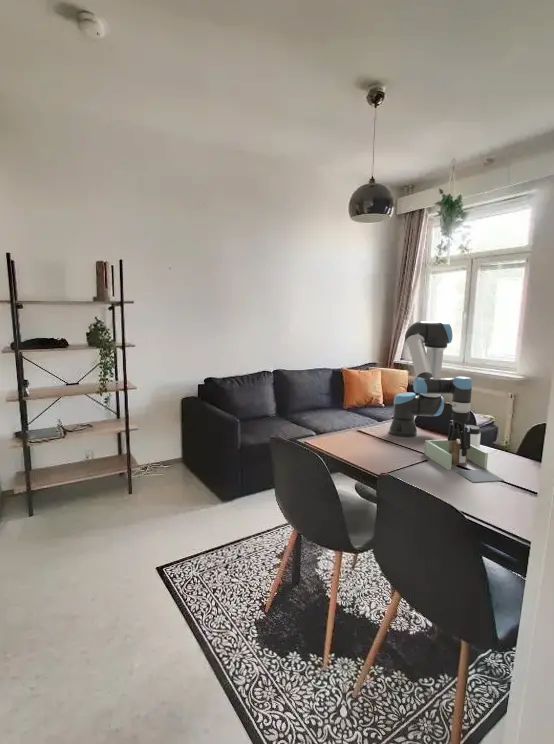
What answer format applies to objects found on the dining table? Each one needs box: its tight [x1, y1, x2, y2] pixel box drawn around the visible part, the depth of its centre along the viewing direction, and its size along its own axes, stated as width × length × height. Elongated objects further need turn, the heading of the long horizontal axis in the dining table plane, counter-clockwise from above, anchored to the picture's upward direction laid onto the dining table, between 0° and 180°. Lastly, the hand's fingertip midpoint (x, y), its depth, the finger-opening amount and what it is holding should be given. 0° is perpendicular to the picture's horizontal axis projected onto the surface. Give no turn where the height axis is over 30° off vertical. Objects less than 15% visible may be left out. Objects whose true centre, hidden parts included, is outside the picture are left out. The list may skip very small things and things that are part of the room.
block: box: [449, 440, 468, 466], centre depth 186 cm, size 5×6×10 cm
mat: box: [455, 468, 505, 484], centre depth 171 cm, size 12×14×1 cm
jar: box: [463, 424, 482, 449], centre depth 204 cm, size 9×8×12 cm
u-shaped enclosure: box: [423, 438, 489, 471], centre depth 189 cm, size 21×18×7 cm
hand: (457, 459), depth 187 cm, fingers open, 6 cm apart
